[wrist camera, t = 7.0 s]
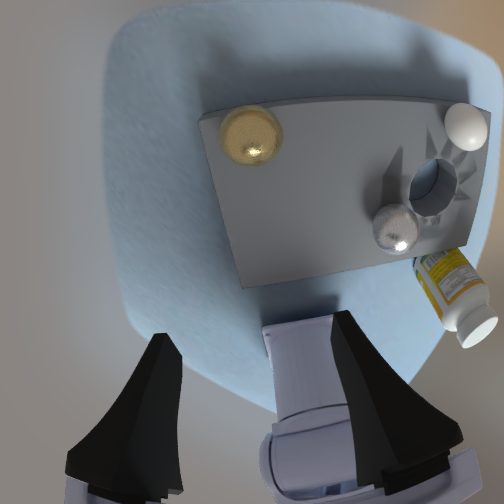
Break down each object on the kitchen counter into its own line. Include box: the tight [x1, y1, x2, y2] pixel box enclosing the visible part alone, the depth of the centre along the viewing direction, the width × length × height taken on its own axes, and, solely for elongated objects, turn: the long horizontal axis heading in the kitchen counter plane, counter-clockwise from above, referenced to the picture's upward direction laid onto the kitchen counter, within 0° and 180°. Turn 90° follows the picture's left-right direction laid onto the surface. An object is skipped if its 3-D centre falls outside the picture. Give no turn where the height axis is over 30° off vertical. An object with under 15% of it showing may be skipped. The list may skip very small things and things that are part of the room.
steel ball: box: [372, 203, 420, 255], centre depth 15 cm, size 3×3×3 cm
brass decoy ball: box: [218, 105, 284, 167], centre depth 12 cm, size 3×3×3 cm
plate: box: [198, 95, 491, 289], centre depth 16 cm, size 12×20×2 cm, turn 100°
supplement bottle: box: [414, 248, 498, 348], centre depth 19 cm, size 5×5×10 cm
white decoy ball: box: [444, 103, 487, 151], centre depth 11 cm, size 3×3×3 cm
